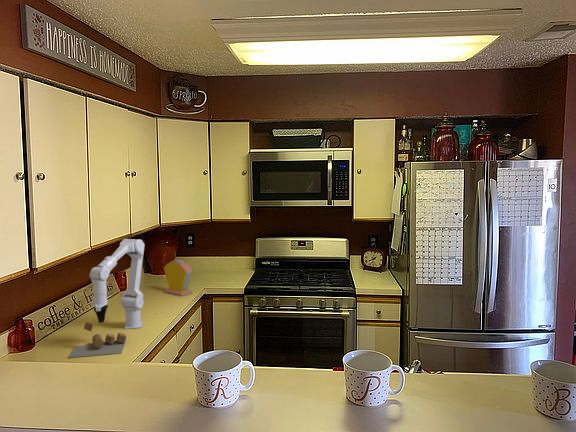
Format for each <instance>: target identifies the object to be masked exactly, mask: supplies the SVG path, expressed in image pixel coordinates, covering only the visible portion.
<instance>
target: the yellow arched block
mask: <svg viewBox="0 0 576 432" xmlns="http://www.w3.org/2000/svg"><path fill="white" fill-rule="evenodd" d="M163 270H164V273H165V277H166V281H167V285H168V289H164V293H165V294H170V295H173V294H174V295H175V296H178V295H179V297H184V295H185V296H188V294H189V295H192V294H193V290H191V289H190V290H189V286H190V280H191V276H192V271H193V269H192V267H191V266H189V264H188V263H186V262H185V261H184V260H182V259H174V260H171V261H170V262H168V263H166V265H164V267H163ZM174 295H173V296H174Z"/></svg>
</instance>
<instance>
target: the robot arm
mask: <svg viewBox="0 0 576 432" xmlns="http://www.w3.org/2000/svg"><path fill="white" fill-rule="evenodd" d="M145 246H146V245H145V243H144V241H143V240H142V239H140V238H139V239H132V238H124V239H122V241H121V242H120V243H119V247H118V248H116V250H115V251H114V252H113V253H112V254H111V255H108V256H105V257H104V259H103V260H102V261H101V262H100V263H99V264H98V265H97V266H94V267H92V268H91V270H89V271H90V272H89V274H88V275H89V278H90V280H91V283H92V289H93V290H92V291H93V293H92V294H93V295H92V296H93V302H91V303H90V305H91V306H93V307H94V308H93V312H94V313H95V315H96V318H97V321H98V323H101V324H102V323H105V320H106V319H105V318H106V314H107V309H108V307H109V305H108V289H107V288H108V287H107V279H108V278H109V276H110V273H111V271H112V270H113V269H114V268H115V267H116V266H117V264H118V261H119V260H120V259H121V258H123V256H124V255H126V254H127V255H128V256H129V257H130V258H131V261H130V269H129V279H128V284H127V285H128V286H127V289H126V290H125V291H124V292H123V295H122V297H121V300H120V304H121V307H122V308H123V310H124V311H125V313H124V314H125V324H124V329H125V330H128V329H129V330H130V329H141V328H142V326H143V321H142V318H141V317H142V316H141V309H142V308H143V306H144V302H145V300H144V293H143V292H141V290H140V286H141V277H142V267H143V261H144V252H145Z"/></svg>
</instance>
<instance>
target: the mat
mask: <svg viewBox="0 0 576 432" xmlns="http://www.w3.org/2000/svg"><path fill="white" fill-rule="evenodd" d="M125 343H126V342H125ZM125 343H120V342H114V343H113V344H109V343H103V345H102V347H100V348H95V347H94V344H87V345H86V344H85V345H76V346H74V348H73V349H72V351H71V352H70V354H69V356H68V359H74V358H77V359H78V358H86V357H96V356H107V355H108V356H109V355H120V354H121V355H122V354H123V353H122V352H123V351H124V347H125Z"/></svg>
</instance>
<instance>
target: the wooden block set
mask: <svg viewBox="0 0 576 432" xmlns="http://www.w3.org/2000/svg"><path fill="white" fill-rule="evenodd" d="M93 327H94V323H92V322H89V321H88V322H87V321H85V323H84V326H83V329H84V330H85V331H88V332H92V330H93ZM91 338H92V339H91V341H92V345H94V347H95V348H100V347H102V345H103V344H104V341H105V344H108V343H109V344H113V343H115V340H116V341H117V343H119V342H120V343H126V340H127V336H126V333H122V332H121V333H120V332H118V333H117V336H114V334H110V333H107V334H106V336H105V338H104V340H103V338H102V335H101V334H100V333H96V334H94V335H93V336H92V337H91Z"/></svg>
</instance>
